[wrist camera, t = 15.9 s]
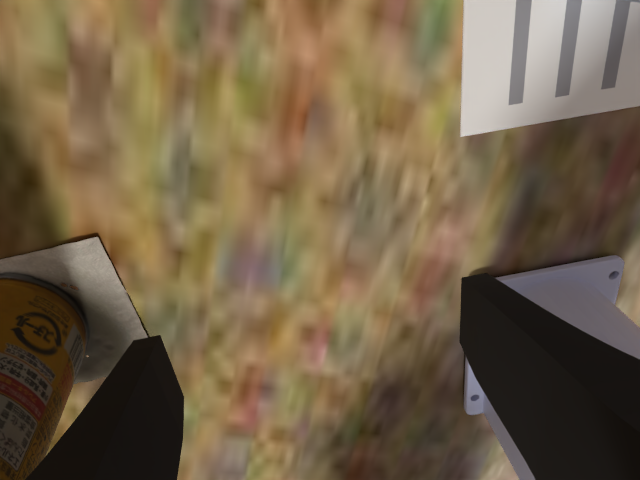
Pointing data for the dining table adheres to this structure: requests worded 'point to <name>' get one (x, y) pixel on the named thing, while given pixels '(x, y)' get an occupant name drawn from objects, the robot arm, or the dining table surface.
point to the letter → (546, 61)
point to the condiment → (55, 341)
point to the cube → (632, 0)
